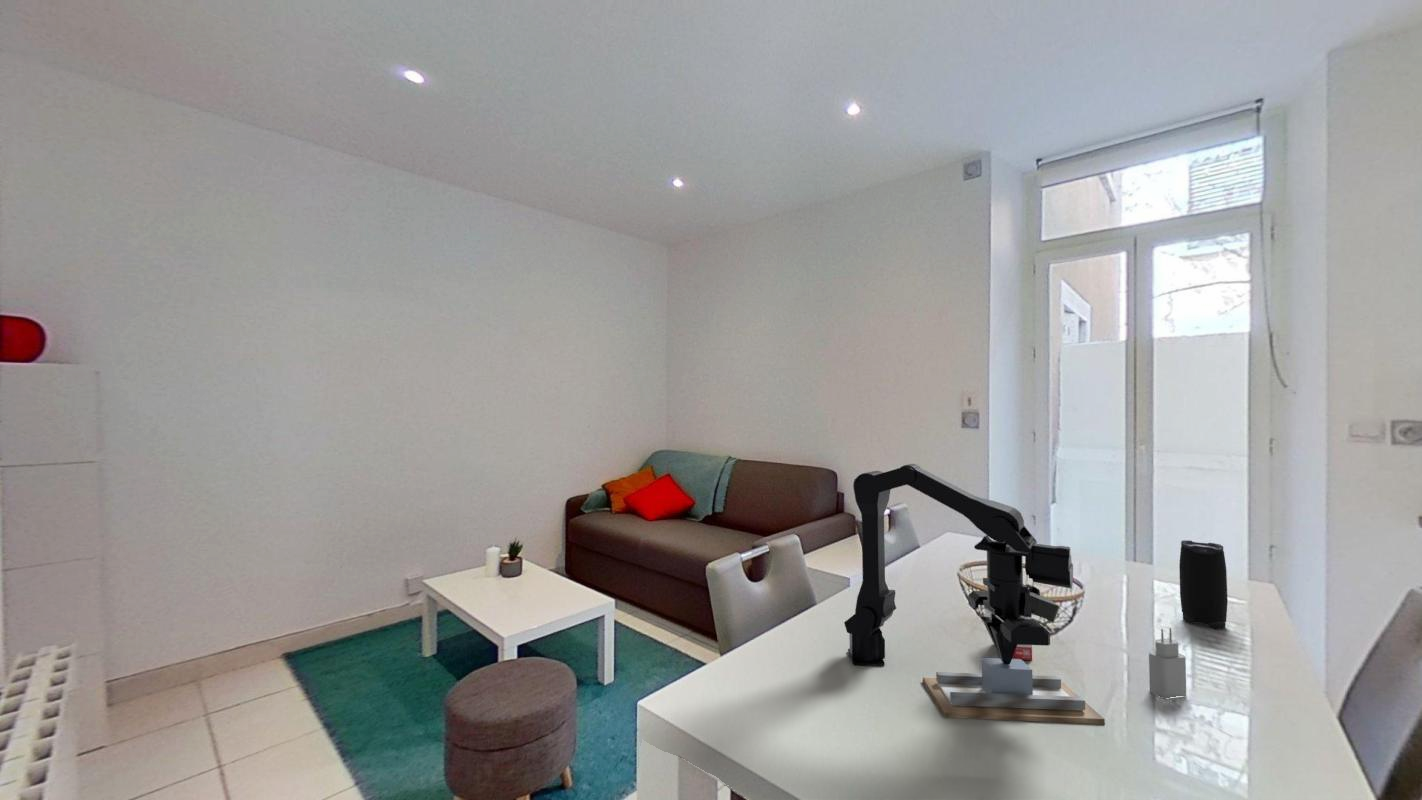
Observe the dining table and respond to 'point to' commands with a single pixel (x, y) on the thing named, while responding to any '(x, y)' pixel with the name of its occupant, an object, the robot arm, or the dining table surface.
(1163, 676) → the power adapter
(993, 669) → the block
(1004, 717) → the rail mount
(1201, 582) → the portable speaker
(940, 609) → the dining table surface
